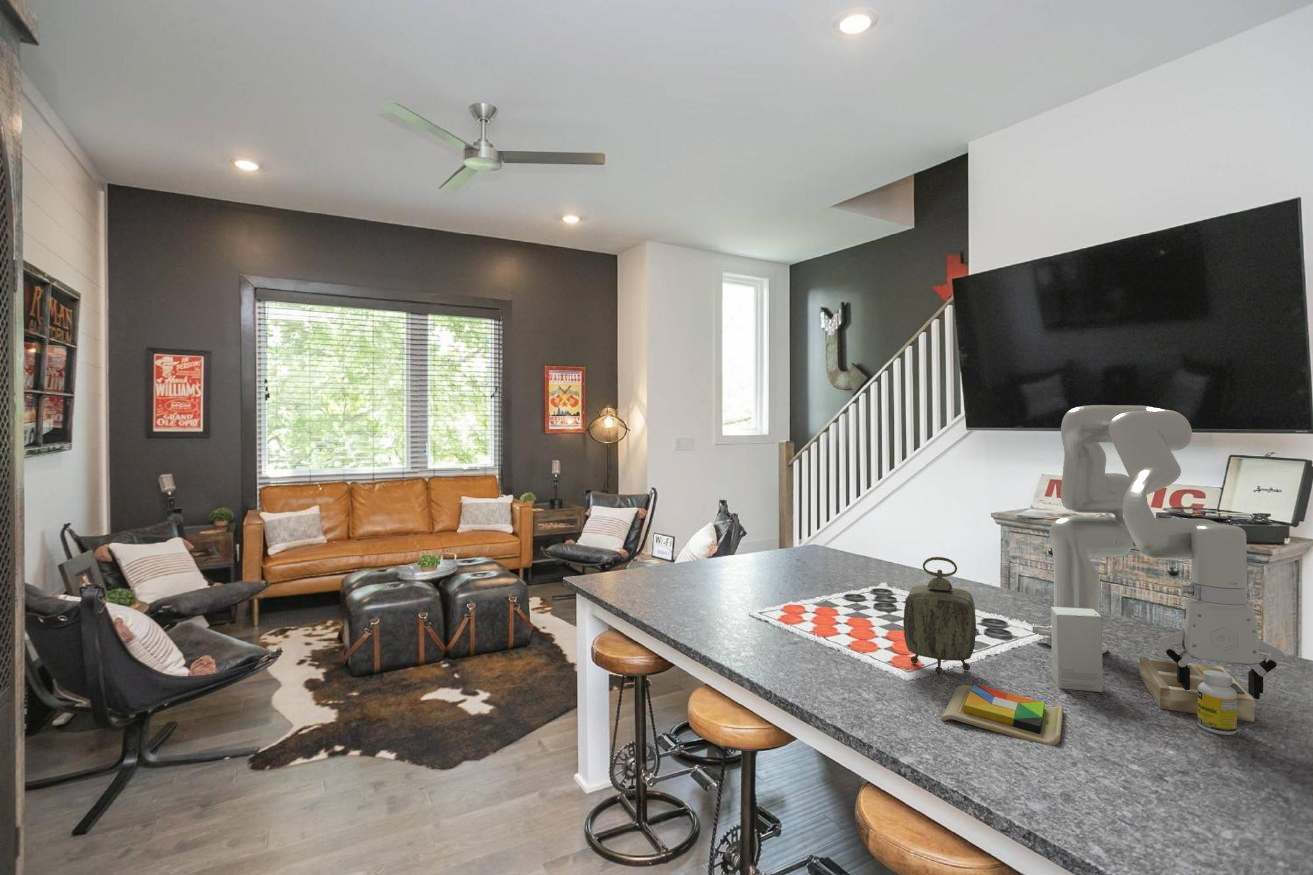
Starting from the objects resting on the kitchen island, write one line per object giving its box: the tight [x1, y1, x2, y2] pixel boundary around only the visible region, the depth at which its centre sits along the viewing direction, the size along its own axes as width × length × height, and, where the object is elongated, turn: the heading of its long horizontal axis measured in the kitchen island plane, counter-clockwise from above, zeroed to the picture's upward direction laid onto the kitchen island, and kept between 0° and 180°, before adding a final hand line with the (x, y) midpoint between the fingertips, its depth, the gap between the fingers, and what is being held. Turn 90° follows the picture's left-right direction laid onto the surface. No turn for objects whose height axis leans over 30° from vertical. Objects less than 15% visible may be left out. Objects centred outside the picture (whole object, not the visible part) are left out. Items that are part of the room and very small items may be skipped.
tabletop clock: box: [902, 556, 977, 675], centre depth 150 cm, size 14×9×25 cm, turn 65°
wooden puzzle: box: [941, 683, 1064, 746], centre depth 127 cm, size 18×19×4 cm
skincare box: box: [1050, 606, 1104, 693], centre depth 141 cm, size 8×7×16 cm
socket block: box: [1139, 656, 1256, 723], centre depth 135 cm, size 14×19×4 cm
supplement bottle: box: [1197, 670, 1238, 736], centre depth 121 cm, size 5×5×10 cm
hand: (1219, 691), depth 121 cm, fingers open, 9 cm apart
